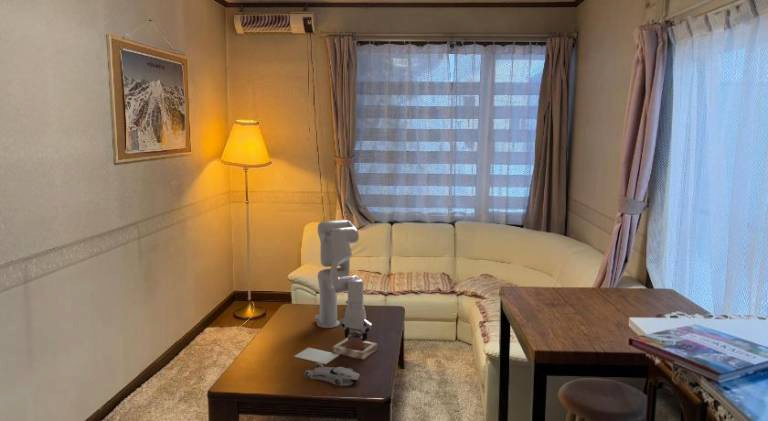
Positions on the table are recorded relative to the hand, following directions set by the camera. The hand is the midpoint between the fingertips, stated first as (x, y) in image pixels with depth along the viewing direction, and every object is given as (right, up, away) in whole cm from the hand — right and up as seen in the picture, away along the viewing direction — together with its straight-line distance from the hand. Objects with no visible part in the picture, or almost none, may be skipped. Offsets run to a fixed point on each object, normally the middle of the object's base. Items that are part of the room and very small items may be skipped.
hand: (355, 338), depth 259 cm
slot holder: (0, -6, +1) cm, 7 cm away
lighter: (0, -7, +1) cm, 7 cm away
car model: (-8, -11, -27) cm, 31 cm away
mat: (-18, -7, -5) cm, 20 cm away
